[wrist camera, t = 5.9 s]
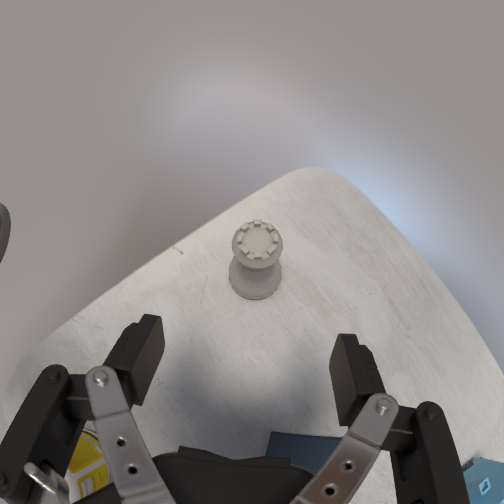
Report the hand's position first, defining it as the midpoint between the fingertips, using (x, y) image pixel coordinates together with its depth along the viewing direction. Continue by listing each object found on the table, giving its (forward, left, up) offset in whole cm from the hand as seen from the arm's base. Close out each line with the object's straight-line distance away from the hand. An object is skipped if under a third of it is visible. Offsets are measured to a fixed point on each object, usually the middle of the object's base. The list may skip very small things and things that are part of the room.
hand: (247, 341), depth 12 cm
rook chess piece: (-1, +6, -11) cm, 13 cm away
